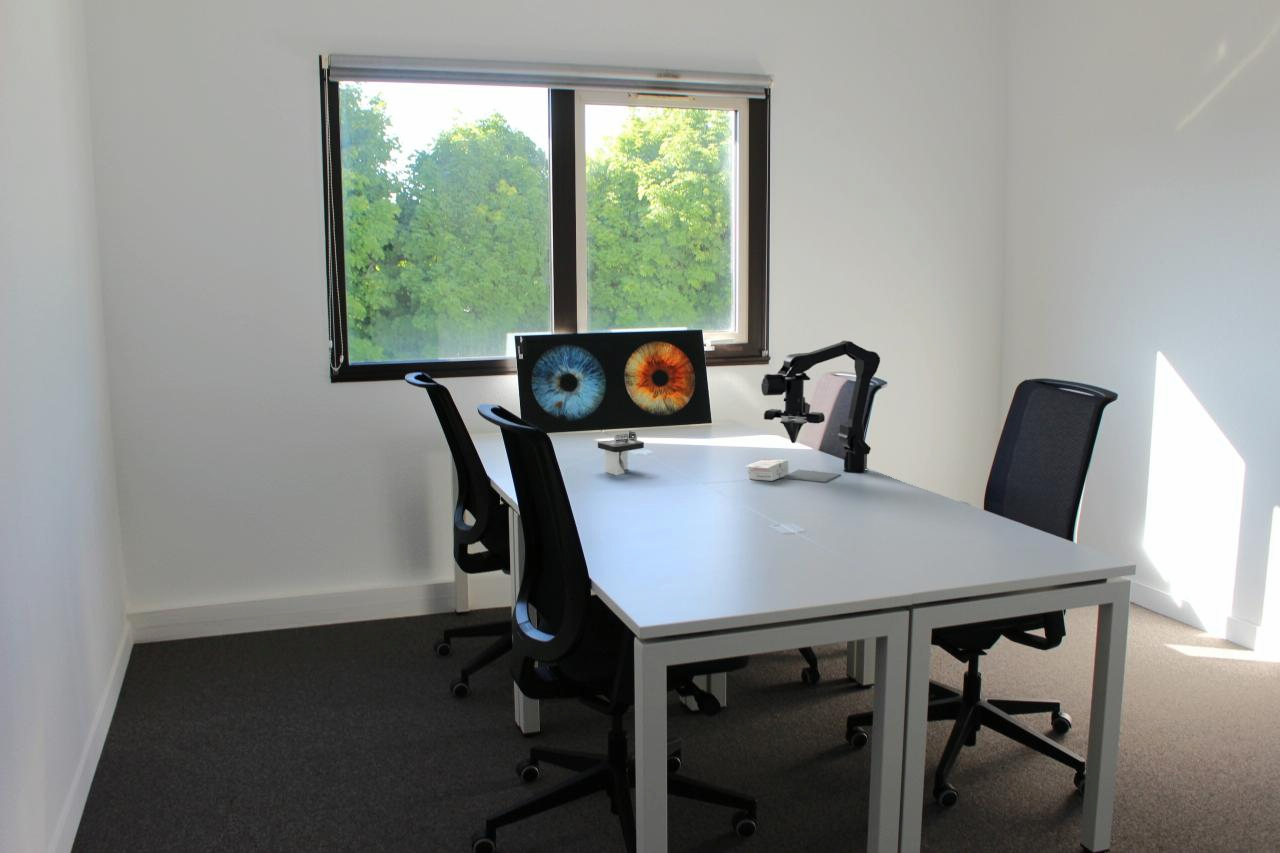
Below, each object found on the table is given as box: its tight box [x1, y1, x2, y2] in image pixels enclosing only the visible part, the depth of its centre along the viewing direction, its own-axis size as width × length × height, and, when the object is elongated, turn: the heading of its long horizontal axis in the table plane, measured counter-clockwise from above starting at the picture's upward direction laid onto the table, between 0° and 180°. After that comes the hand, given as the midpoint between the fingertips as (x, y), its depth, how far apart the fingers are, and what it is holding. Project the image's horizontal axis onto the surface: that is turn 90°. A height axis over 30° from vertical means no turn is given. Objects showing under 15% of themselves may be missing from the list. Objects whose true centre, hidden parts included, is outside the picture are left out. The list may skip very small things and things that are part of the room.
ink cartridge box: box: [745, 458, 790, 482], centre depth 344 cm, size 9×5×15 cm
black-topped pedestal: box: [597, 430, 645, 476], centre depth 353 cm, size 28×26×13 cm
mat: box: [781, 469, 841, 484], centre depth 347 cm, size 14×14×1 cm
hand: (793, 442), depth 348 cm, fingers closed
